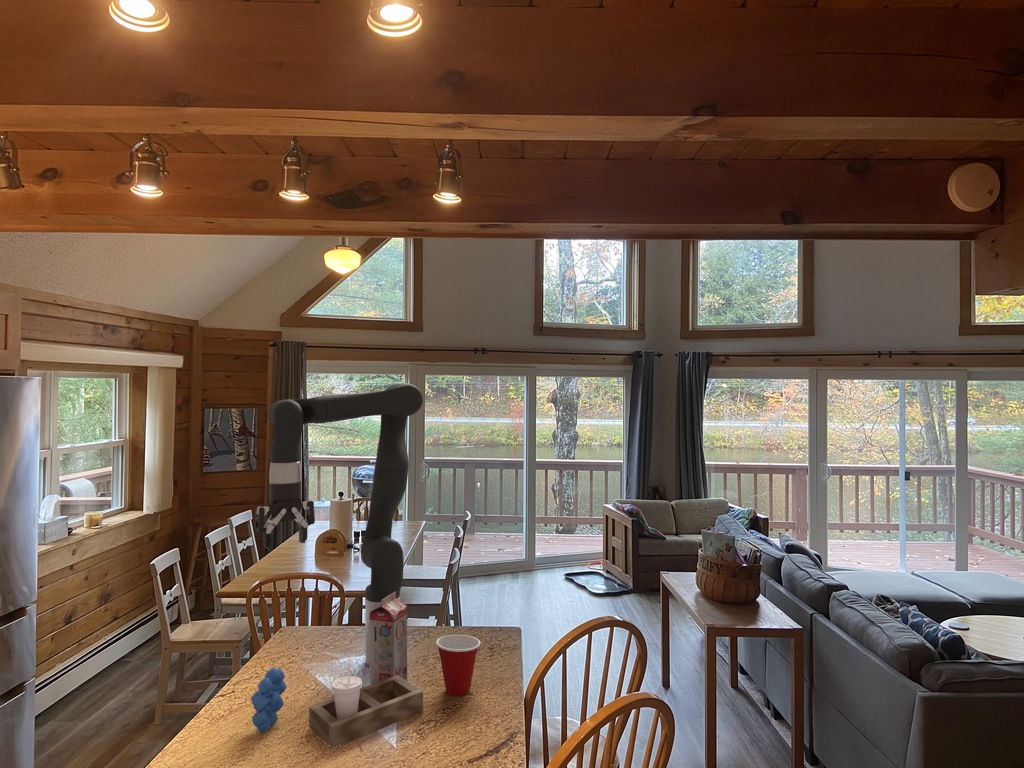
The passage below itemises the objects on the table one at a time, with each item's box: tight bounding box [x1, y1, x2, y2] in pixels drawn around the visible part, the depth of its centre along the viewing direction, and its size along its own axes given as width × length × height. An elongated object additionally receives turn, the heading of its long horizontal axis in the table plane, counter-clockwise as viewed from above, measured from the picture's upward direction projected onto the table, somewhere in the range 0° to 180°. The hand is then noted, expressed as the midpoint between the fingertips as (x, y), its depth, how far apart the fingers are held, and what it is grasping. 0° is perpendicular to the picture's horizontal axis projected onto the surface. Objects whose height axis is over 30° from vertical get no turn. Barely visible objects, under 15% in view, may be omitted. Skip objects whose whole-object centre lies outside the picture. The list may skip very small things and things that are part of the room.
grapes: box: [250, 667, 287, 734], centre depth 135 cm, size 12×7×12 cm, turn 173°
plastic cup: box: [435, 634, 482, 697], centre depth 151 cm, size 11×11×12 cm
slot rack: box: [308, 675, 424, 749], centre depth 138 cm, size 22×11×4 cm, turn 132°
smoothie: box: [331, 661, 363, 720], centre depth 134 cm, size 6×6×14 cm
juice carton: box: [369, 592, 408, 685], centre depth 154 cm, size 7×7×22 cm
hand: (285, 545), depth 154 cm, fingers open, 8 cm apart
